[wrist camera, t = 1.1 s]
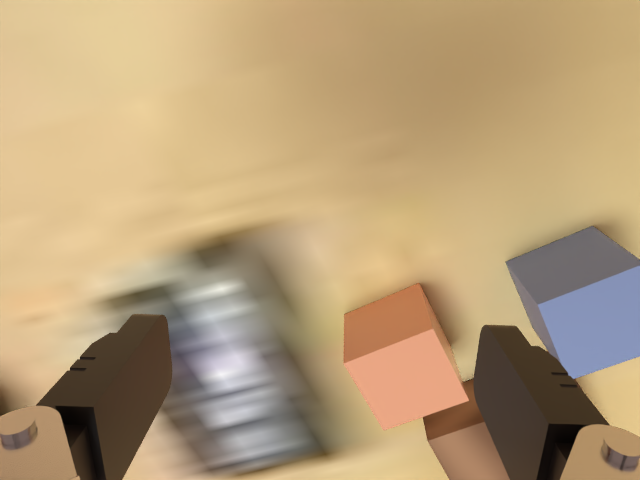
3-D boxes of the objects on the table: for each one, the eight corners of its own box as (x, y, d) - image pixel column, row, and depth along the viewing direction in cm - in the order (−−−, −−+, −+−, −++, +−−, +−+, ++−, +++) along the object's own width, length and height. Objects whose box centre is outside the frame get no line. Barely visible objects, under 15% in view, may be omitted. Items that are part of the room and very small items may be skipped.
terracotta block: (418, 282, 31) (432, 328, 26) (450, 345, 32) (469, 400, 27) (344, 313, 32) (343, 363, 27) (378, 372, 34) (383, 430, 28)
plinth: (554, 349, 32) (581, 388, 28) (595, 449, 35) (624, 496, 31) (418, 398, 34) (427, 440, 30) (468, 488, 37) (481, 537, 33)
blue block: (591, 225, 29) (644, 263, 23) (615, 296, 30) (669, 345, 25) (504, 261, 30) (537, 304, 25) (532, 327, 31) (568, 380, 26)
